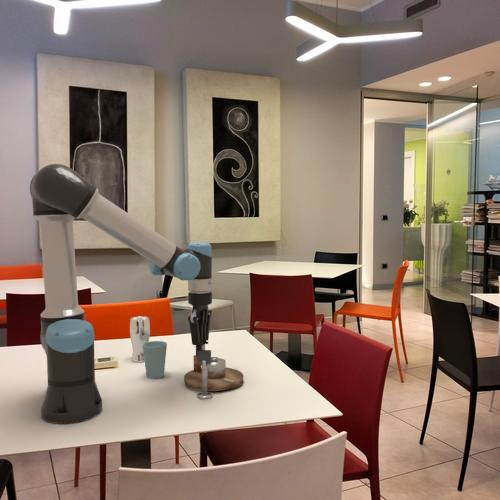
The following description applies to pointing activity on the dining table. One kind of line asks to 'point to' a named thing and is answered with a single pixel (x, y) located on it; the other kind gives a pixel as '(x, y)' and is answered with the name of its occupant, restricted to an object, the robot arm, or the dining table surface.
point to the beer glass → (139, 336)
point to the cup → (154, 358)
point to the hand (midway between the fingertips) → (200, 364)
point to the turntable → (227, 382)
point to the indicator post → (204, 373)
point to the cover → (216, 368)
